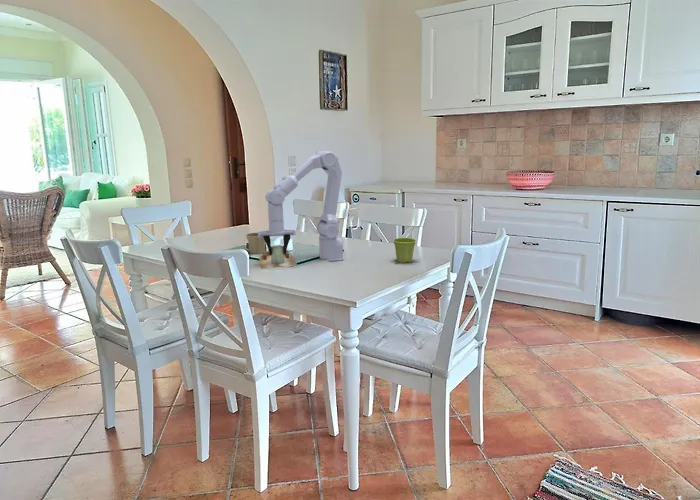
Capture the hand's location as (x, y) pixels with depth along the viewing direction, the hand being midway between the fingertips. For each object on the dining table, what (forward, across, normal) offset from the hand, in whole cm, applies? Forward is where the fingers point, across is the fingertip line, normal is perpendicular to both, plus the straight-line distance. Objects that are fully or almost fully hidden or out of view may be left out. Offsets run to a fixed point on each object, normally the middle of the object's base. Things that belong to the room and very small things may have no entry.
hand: (277, 254), depth 204 cm
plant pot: (+5, -50, +8) cm, 51 cm away
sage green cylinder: (+4, 0, 0) cm, 4 cm away
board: (+5, 0, -6) cm, 7 cm away
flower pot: (+5, +7, -24) cm, 25 cm away
